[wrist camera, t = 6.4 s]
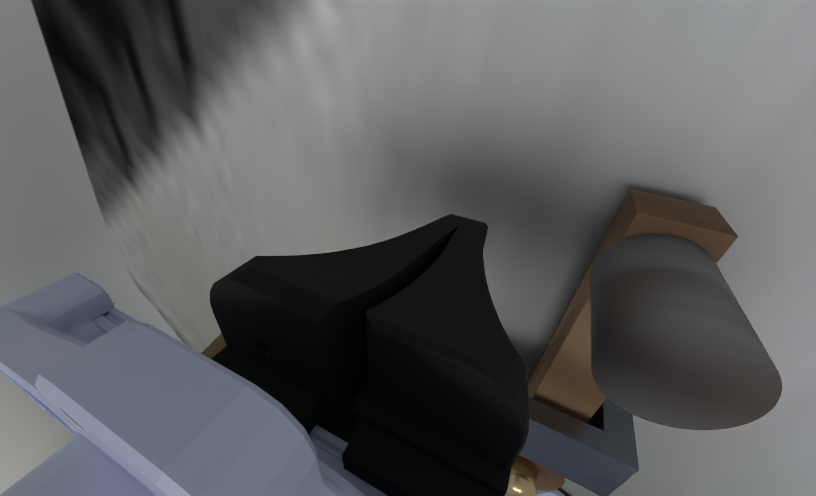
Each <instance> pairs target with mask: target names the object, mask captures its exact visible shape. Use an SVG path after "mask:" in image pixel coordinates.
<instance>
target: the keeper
mask: <svg viewBox="0 0 816 496" xmlns="http://www.w3.org/2000/svg"><path fill="white" fill-rule="evenodd" d="M520 455H522V456H524V457H526V458H528V459H529V460H531V461H533V462H535V463H537V464H539V465H541V466H543V467H545V468H547V469H549V470H551V471H553V472H555V473H557V474H559V475H561V476H563V477H565V478H567V479H569V480H571V481H573V482H575V483H577V484H579V485H581V486H582V487H584V488H586V489H588V490H590V491H592V492H594V493H596V494H598V495H600V496H608V495H609V494H610V493H612V492H613V491H614V490H615V489H616V488H618V487H619V486H620V485H621V484H623V483H624V482H625V481H626V480H627V479H629V478H630V477H631V476H632V475H633V474H635V473H636V472H637V471H638V470H639V467H638V459H637V450H636V442H635V433H634V425H633V417H632V414H631V413H629V412H627V411H625V410H624V409H622V408H620V407H619V406H617V405H616V404H614V403H613V402H612V401H611V400H610V399H608V398H606V400H605V401H604V402H603V403H602V405H601V406H600V407H599V408H598V409H597V411H596V412H595V413H594V414H593V416H592V417H591V418H590V419H589V421H588V422H587V423H585V422H583V421H581V420H578V419H576V418H574V417H572V416H569V415H567V414H565V413H563V412H561V411H558V410H556V409H554V408H552V407H549V406H547V405H545V404H543V403H540V402H538V401H536V400H534V399H532V398H529V431H528V436H527V439H526V443H525V444H524V446H523V448H522V450H521V452H520Z"/></svg>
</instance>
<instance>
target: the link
mask: <svg viewBox="0 0 816 496" xmlns="http://www.w3.org/2000/svg"><path fill="white" fill-rule="evenodd" d="M737 237H738V236H737V235H736V233H735V232H734V231H733V229H732V228H731V227H730V226H729V224H728V223H727V222H726V220H725V219H724V218H723V217H722V215H721V214H720V213H719V211H718V210H717V209H716V208H715V207H711V206H707V205H702V204H698V203H694V202H689V201H685V200H680V199H676V198H671V197H667V196H662V195H658V194H654V193H649V192H645V191H640V190H636V189H631V188H630V190H629V192H628V194H627V196H626V198H625V200H624V202H623V204H622V206H621V207H620V209H619V211H618V213H617V215H616V217H615V219H614V221H613V223H612V225H611V226H610V228H609V230H608V232H607V234H606V236H605V238H604V240H603V242H602V244H601V245H600V247H599V249H598V251H597V253H596V255H595V257H594V259H593V261H592V263H591V265H590V266H589V268H588V270H587V272H586V274H585V276H584V278H583V280H582V282H581V284H580V285H579V287H578V289H577V291H576V293H575V295H574V297H573V299H572V301H571V303H570V304H569V306H568V308H567V310H566V312H565V314H564V316H563V318H562V320H561V322H560V324H559V325H558V327H557V329H556V331H555V333H554V335H553V337H552V339H551V341H550V343H549V344H548V346H547V348H546V350H545V352H544V354H543V356H542V358H541V360H540V362H539V363H538V365H537V367H536V369H535V371H534V373H533V375H532V377H531V379H530V381H529V383H528V384H527V387H528V396H529V398H532V399H534V400H536V401H538V402H540V403H543V404H545V405H547V406H549V407H552V408H554V409H556V410H558V411H561V412H563V413H565V414H567V415H569V416H572V417H574V418H576V419H578V420H581V421H583V422H585V423H587V422H588V421H589V419H590V418H591V417H592V416H593V414H594V413H595V412H596V411H597V409H598V408H599V407H600V406H601V405H602V403H603V402H604V401H605V400H606V398H608V399H610V400H611V401H612V402H613V403H614V404H616V405H617V406H619V407H620V408H622V409H624V410H625V411H627V412H629V413H631V414H633V415H635V416H638V417H640V418H643V419H645V420H648V421H651V422H654V423H657V424H661V425H665V426H670V427H676V428H682V429H691V430H717V429H726V428H732V427H737V426H740V425H744V424H747V423H750V422H752V421H754V420H757V419H759V418H760V417H762V416H764V415H765V414H767V413H768V412H769V411H770V410H771V409H773V407H774V406H775V405H776V403H777V402H778V400H779V398H780V396H781V391H782V383H781V378H780V375H779V372H778V370H777V369H776V367H775V365H774V364H773V362H772V360H771V358H770V357H769V355H768V353H767V351H766V350H765V348H764V346H763V345H762V343H761V341H760V339H759V338H758V336H757V334H756V332H755V331H754V329H753V327H752V326H751V324H750V322H749V320H748V319H747V317H746V315H745V313H744V312H743V310H742V308H741V307H740V305H739V303H738V301H737V300H736V298H735V296H734V294H733V293H732V291H731V289H730V288H729V286H728V284H727V282H726V281H725V279H724V277H723V275H722V274H721V272H720V270H719V269H718V267H717V265H716V263H717V262H718V261H719V259H720V258H721V257H722V256H723V255H724V253H725V252H726V251H727V250H728V248H729V247H730V246H731V245H732V243H733V242H734V241H735V240H736V239H737ZM518 457H519V458H522V459H524V460H526V461H528V462H530V463H531V464H532V465H534V466H535V467H536V469H537V471H538V478H537V487H536V490H541V491H552V490H556V489H559V488H560V487H562V485H563V484H564V477H563V476H561V475H559V474H557V473H555V472H553V471H551V470H549V469H547V468H545V467H543V466H541V465H539V464H537V463H535V462H533V461H531V460H529V459H528V458H526V457H524V456H522V455H520V454H519V455H518Z"/></svg>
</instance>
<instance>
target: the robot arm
mask: <svg viewBox="0 0 816 496" xmlns="http://www.w3.org/2000/svg"><path fill="white" fill-rule="evenodd" d="M487 230H488V226H487V225H486V223H483V222H479V221H475V220H472V219H468V218H464V217H460V216H456V215H453V214H450V215H447V216H445V217H443V218H440V219H438V220H436V221H434V222H432V223H429V224H427V225H425V226H423V227H420V228H418V229H416V230H413V231H411V232H408V233H405V234H403V235H400V236H398V237H395V238H392V239H389V240H386V241H383V242H379V243H376V244H372V245H368V246H364V247H359V248H354V249H348V250H343V251H337V252H330V253H322V254H311V255H296V256H255V257H254V258H252V259H251V260H249V261H248V262H246V263H245V264H243V265H241V266H240V267H238V268H237V269H235V270H234V271H232V272H231V273H229V274H228V275H226V276H225V277H223V278H221V279H220V280H218V281H217V282H215V283H214V284H213V286H212V288H211V290H210V303H211V307H212V310H213V313H214V315H215V318H216V320H217V323H218V325H219V328H220V330H221V332H222V335H223V337H224V340H225V342H226V345H227V346H226V347H224V348H223V349H222V350H221V351H220V352H218V353H217V354H216V355H215V356H214V357H212V358H211V359H210V358H208V357H206V356H204V355H203V354H201V353H199V352H198V351H196V350H194V349H192V348H191V347H189V346H187V345H185V344H184V343H182V342H180V341H178V340H176V339H175V338H173V337H171V336H170V335H168V334H166V333H164V332H163V331H161V330H159V329H157V328H156V327H154V326H152V325H149V324H146V323H143V322H140V321H137V320H135V319H134V318H132V317H130V316H128V315H126V314H125V313H123V312H121V311H120V310H118V309H116V308H115V307H114V303H113V302H112V300H111V298H110V297H109V295H108V294H107V293H106V291H105V290H104V289H103V288H102V287H101V286H99V285H98V284H97V283H95V282H93V281H91V280H89V279H88V278H86V277H84V276H82V275H80V274H76V273H75V274H72V275H70V276H67V277H65V278H63V279H61V280H59V281H56V282H54V283H52V284H50V285H47V286H45V287H43V288H41V289H38V290H36V291H34V292H32V293H30V294H27V295H25V296H23V297H21V298H18V299H16V300H14V301H12V302H9V303H7V304H5V305H3V306H1V307H0V371H1V372H2V373H3V374H4V375H5V376H6V377H7V378H8V379H9V380H11V381H12V382H13V383H14V384H15V385H16V386H17V387H18V388H20V389H21V390H22V391H23V392H24V393H25V394H27V395H28V396H29V397H30V398H31V399H32V400H33V401H34V402H36V403H37V404H38V405H39V406H40V407H41V408H43V409H44V410H45V411H46V412H47V413H48V414H49V415H51V416H52V417H53V418H54V419H55V420H56V421H57V422H59V423H60V424H61V425H62V426H63V427H64V428H65V429H67V430H68V431H69V432H70V433H71V434H72V435H74V436H75V438H73V439H72V440H71V441H70V442H68V443H67V444H66V445H65V446H63V447H62V448H61V449H59V450H58V451H57V452H55V453H54V454H53V455H51V456H50V457H49V458H47V459H46V460H45V461H44V462H42V463H41V464H40V465H38V466H37V467H36V468H34V469H33V470H32V471H31V472H29V473H28V474H27V475H25V476H24V477H23V478H21V479H20V480H19V481H17V482H16V483H15V484H14V485H12V486H11V487H10V488H8V489H7V490H6V491H4V492H3V493H2V494H1V495H0V496H504V495H505V494H506V493H507V489H508V485H509V479H510V474H511V468H512V466H513V464H514V463H515V461H516V459H517V457H518V455H519V454H520V452H521V450H522V448H523V446H524V444H525V443H526V439H527V436H528V431H529V396H528V387H527V379H526V373H525V366H524V363H523V361H522V360H521V358H520V357H519V355H518V353H517V352H516V350H515V349H514V347H513V345H512V343H511V342H510V340H509V338H508V336H507V334H506V332H505V330H504V328H503V326H502V324H501V322H500V319H499V317H498V315H497V312H496V310H495V307H494V305H493V302H492V299H491V296H490V293H489V289H488V285H487V281H486V276H485V270H484V262H483V247H484V243H485V239H486V234H487ZM535 496H565V495H564V494H563V493H561V492H560V491H559V490H557V489H556V490H552V491H541V490H536V495H535Z"/></svg>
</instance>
